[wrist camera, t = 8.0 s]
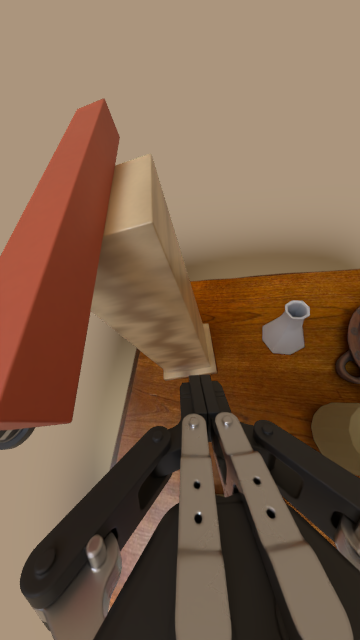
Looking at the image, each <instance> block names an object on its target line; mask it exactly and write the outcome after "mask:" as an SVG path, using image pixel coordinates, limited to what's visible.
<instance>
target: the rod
mask: <svg viewBox="0 0 360 640" xmlns="http://www.w3.org/2000/svg"><path fill="white" fill-rule="evenodd" d="M119 138H120V137H119V134H118V132H117V129H116V127H115V124H114V122H113V119H112V117H111V114H110V111H109V109H108V106H107V104H106V101H105V99H101V100H99V101H96V102H94V103H92V104H89V105H86V106H84V107H82V108H79V109H77V111H76V113H75V115H74V116H73V118H72V120H71V122H70V124H69V126H68V128H67V130H66V132H65V134H64V136H63V138H62V139H61V141H60V143H59V145H58V147H57V149H56V151H55V153H54V155H53V157H52V159H51V161H50V162H49V164H48V166H47V168H46V170H45V172H44V174H43V176H42V178H41V180H40V181H39V183H38V185H37V187H36V189H35V191H34V193H33V195H32V197H31V199H30V201H29V203H28V205H27V206H26V208H25V210H24V212H23V214H22V216H21V218H20V220H19V222H18V224H17V226H16V227H15V229H14V231H13V233H12V235H11V237H10V239H9V241H8V243H7V245H6V247H5V249H4V251H3V252H2V254H1V256H0V430H14V429H23V428H32V427H40V426H50V425H58V424H67V423H70V422H71V421H72V417H73V411H74V406H75V400H76V394H77V388H78V382H79V376H80V370H81V364H82V358H83V352H84V346H85V341H86V335H87V329H88V323H89V316H90V311H91V305H92V299H93V293H94V287H95V281H96V275H97V269H98V263H99V257H100V251H101V245H102V239H103V234H104V228H105V222H106V216H107V210H108V204H109V198H110V192H111V186H112V180H113V174H114V168H115V162H116V156H117V150H118V144H119Z"/></svg>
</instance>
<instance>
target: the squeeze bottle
mask: <svg viewBox="0 0 360 640" xmlns="http://www.w3.org/2000/svg"><path fill="white" fill-rule="evenodd" d="M311 429H312V434H313V439H314V441H315V443H316V445H317V446H318V448H319V450H320V452H321V453H322V455H324V456H325V457H327V458H329V459H330V460H332V461H333V462H335V463H336V464H338V465H340V466H341V467H343V468H344V469H346V470H347V471H349V472H350V473H352V474H354V475H358V476H360V403H329V404H327V405H324V406H321V407H320V408H319V409H318V410H317V412H316V413H315V414H314V415H313V420H312V424H311Z"/></svg>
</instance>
